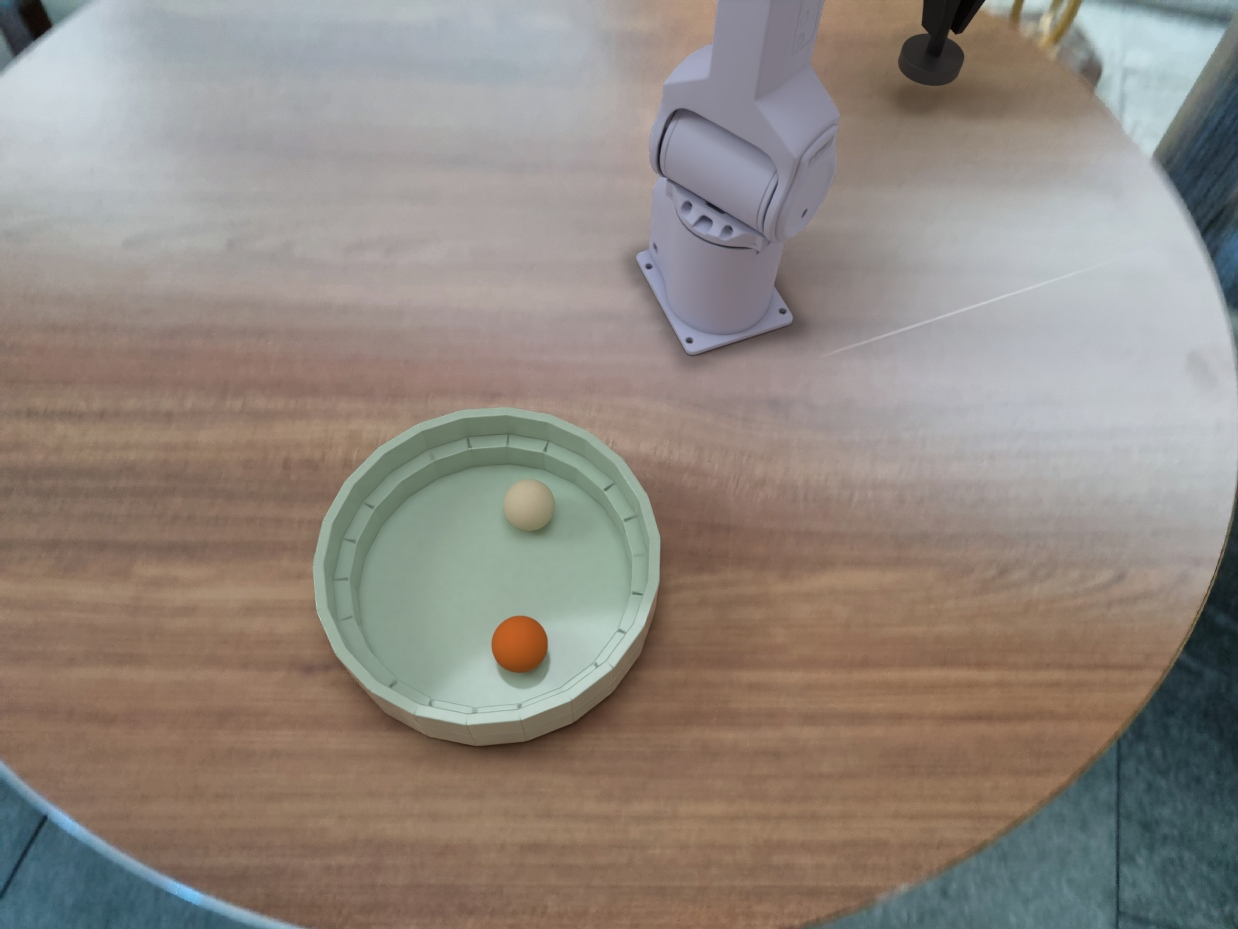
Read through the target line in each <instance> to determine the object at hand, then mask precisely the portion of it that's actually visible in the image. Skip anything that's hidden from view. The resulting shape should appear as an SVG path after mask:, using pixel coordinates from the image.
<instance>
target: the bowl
mask: <svg viewBox="0 0 1238 929" xmlns="http://www.w3.org/2000/svg"><path fill="white" fill-rule="evenodd" d="M524 479H534V480H538V481H540V482H542V483H544V484H545V485H546V486H547V487H548V488H549V489H550V490H551V492H552V494H553V496H554V500H555V510H554V514H553V516H552V518H551V520H550V521H549V522H548V523H547V524H546V525H545V526H544V527H542V528H540V529H537V530H533V531H524V530H520V529H518V528H516V527H514V526H513V525H512V524H511V523H510V522H509V521H508V520H507V518H506V516H505V514H504V511H503V500H504V496H505V494H506V492H507V490H508V489H509V488H510V487H511V486H512V485H513V484H515V483H516V482H518V481H520V480H524ZM659 531H660V530H659V527H658V525H657V520H656V517H655V514H654V510H653V507H652V504H651V499H650V497H649V495H648V493H647V491H646V490H645V489H644V487H643V486H642V484H641V483H640V481H639V480H638V478H637V477H636V475H635V474H634V472H633V470H632V469H631V467H630V466H629V465H628V463H627V462H626V460H625V459H624V458H623V457H621V456H620V455H619V454H618V453H616V451H614V450H613V449H612V448H610V446H608V445H607V444H606V443H605V442H603V441H602V440H601V439H600V438H599V437H597V436H596V435H595V434H593V432H591V431H589V430H587V429H585V428H582V427H580V426H578V425H575V424H573V423H571V422H569V421H567V420H565V419H562V418H560V417H557V416H555V415H554V414H550V413H546V412H541V411H540V412H539V411H533V410H528V409H521V408H517V407H510V406H499V407H485V408H472V409H471V408H470V409H460V410H456V411H453V412H449V413H447V414H444V415H441V416H440V415H439V416H437V417H435V418H431V419H428V420H424V421H422V422H419V423H416V424H414V425H413V426H411V427H409V428H407V429H406V430H405V431H403V432H401V433H399V434H398V435H396V436H395V437H393V438H391V439H389V440H387V441H386V442H384V443H383V444H381V445H379V446H378V447H376V449H375V450H374V451H373V452H372V453H371V454H370V455H369V456H367V458H366V459H365V460H364V461H363V462H362V463H361V464H360V465H359V466H358V467H357V468H356V469H355V470H354V471H353V472H352V473H351V474H350V475H349V476H348V477H347V478H346V479H345V480H344V481H343V484H342V485H341V487H340V489H339V490H338V493H337V494H336V496H335V498H334V500H333V501H332V502H331V505H330V506H329V508H328V510H327V512H326V514H325V515H324V517H323V519H322V522H321V526H320V530H319V535H318V539H317V544H316V547H315V552H314V557H313V561H312V579H313V589H314V602H315V610H316V615H317V616H318V619H319V622H320V623H321V626H322V628H323V631H324V632H325V635H326V637H327V639H328V641H329V644H330V646H331V648H332V650H333V653H334V655H335V656H336V658H337V660H338V661H339V662H340V663H341V664H342V665H343V667H344V668H345V669H346V671H347V672H348V673H349V675H350V676H351V677H352V679H353V680H354V682H356V683H357V684H358V685H359V687H360V688H362V690H363V691H364V692H365V693H366V694H367V695H368V696H369V697H370V698H371V700H373V702H375V704H376V705H377V706H378V707H379V708H380V709H381V710H382V711H383V712H384V713H385V714H386V715H388V716H390V717H391V718H393V719H395V720H397V721H399V722H401V723H402V724H404V725H406V726H408V727H410V728H412V729H414V730H415V731H416V732H419V733H421V734H422V735H425V736H427V737H430V738H434V739H439V740H445V741H450V742H453V743H459V744H464V745H468V746H474V747H479V746H480V747H482V746H492V745H503V744H512V743H523V742H529V741H531V740H533V739H535V738H538V737H541V736H544V735H547V734H549V733H552V732H554V731H556V730H558V729H562V728H564V727H566V726H568V725H572V724H573V723H575V722H576V721H578V720H579V719H581V717H583V716H584V715H586V714H587V713H588V712H589V711H591V710H592V709H593V708H594V707H596V706H597V705H598V704H600V703H601V702H602V701H604V700H605V699H607V697H609V696H610V695H612V694H613V693H614V691H615V690H616V688H617V687H618V686H619V685H620V683H621V681H622V680H623V679H624V678H625V676H626V675H627V673H628V672H629V671H630V669H631V668H632V667H633V665H634V664H635V663H636V661H637V659H638V658H639V657H640V655H641V653H642V651H643V648H644V645H645V642H646V640H647V636H648V634H649V631H650V627H651V626H652V625H651V624H652V623H653V619H654V616H655V613H656V608H657V602H658V594H659V588H660V581H661V579H660V578H661V577H660V576H661V573H660V572H661V545H662V544H661V542H662V540H661V539H662V538H661V535H660V532H659ZM513 616H527V617H530V618H533V619H535V620H536V621H537V622H539V623H540V624H541V626H542V627H543V628H544V630H545V632H546V635H547V638H548V649H547V653H546V655H545V657H544V659H543V661H542V662H541V663H540V664H539V665H538V666H537V667H536V668H534V669H533V670H530V671H528V672H523V673H515V672H511V671H508V670H506V669H504V668H503V667H501V666H500V665H499V664H498V662H497V661H496V659H495V658H494V655H493V653H492V647H491V642H492V637H493V634H494V632H495V630H496V628H497V627H498V626H499V625H500V624H501V623H502V622H503V621H504V620H506V619H508V618H510V617H513Z"/></svg>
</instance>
